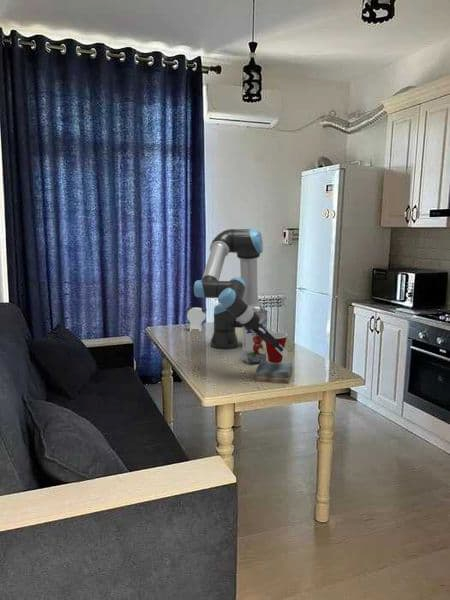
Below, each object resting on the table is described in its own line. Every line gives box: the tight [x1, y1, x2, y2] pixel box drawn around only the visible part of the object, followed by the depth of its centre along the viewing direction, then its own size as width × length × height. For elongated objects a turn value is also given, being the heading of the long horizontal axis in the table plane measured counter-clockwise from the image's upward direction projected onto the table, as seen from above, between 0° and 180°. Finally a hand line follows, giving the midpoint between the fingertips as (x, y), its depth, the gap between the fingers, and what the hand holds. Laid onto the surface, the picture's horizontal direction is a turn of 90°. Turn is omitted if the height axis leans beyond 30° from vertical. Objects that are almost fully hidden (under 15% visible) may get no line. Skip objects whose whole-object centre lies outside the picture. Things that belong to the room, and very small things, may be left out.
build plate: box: [254, 360, 293, 385], centre depth 202 cm, size 14×20×4 cm
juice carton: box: [242, 307, 268, 365], centre depth 221 cm, size 9×10×27 cm
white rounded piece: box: [186, 306, 207, 331], centre depth 286 cm, size 12×11×15 cm
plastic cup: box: [264, 331, 289, 363], centre depth 201 cm, size 11×11×12 cm
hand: (281, 352), depth 202 cm, fingers closed on plastic cup, 9 cm apart
